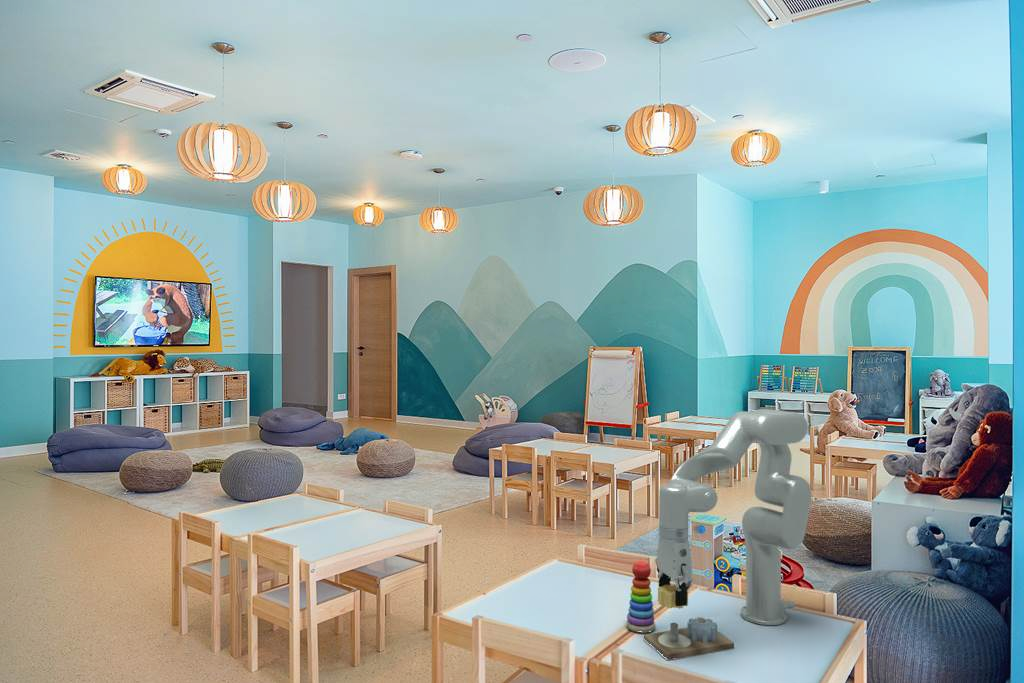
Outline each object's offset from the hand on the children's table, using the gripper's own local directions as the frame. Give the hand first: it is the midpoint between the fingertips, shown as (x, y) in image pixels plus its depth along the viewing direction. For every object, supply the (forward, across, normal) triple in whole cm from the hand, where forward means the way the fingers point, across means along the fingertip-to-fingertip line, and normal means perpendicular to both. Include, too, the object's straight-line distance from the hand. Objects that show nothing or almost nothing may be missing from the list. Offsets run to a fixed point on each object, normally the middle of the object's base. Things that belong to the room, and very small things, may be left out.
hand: (672, 599), depth 183 cm
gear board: (+13, 0, -5) cm, 14 cm away
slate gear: (+11, 0, -9) cm, 14 cm away
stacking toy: (+13, +13, +2) cm, 19 cm away
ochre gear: (+1, 0, 0) cm, 1 cm away
